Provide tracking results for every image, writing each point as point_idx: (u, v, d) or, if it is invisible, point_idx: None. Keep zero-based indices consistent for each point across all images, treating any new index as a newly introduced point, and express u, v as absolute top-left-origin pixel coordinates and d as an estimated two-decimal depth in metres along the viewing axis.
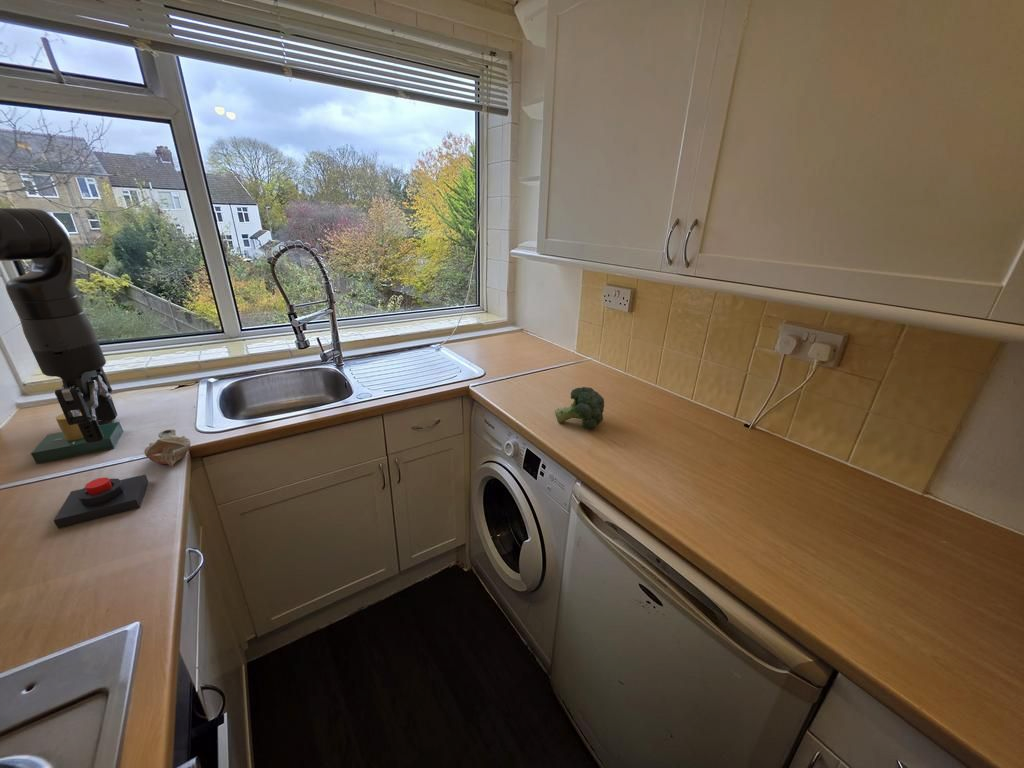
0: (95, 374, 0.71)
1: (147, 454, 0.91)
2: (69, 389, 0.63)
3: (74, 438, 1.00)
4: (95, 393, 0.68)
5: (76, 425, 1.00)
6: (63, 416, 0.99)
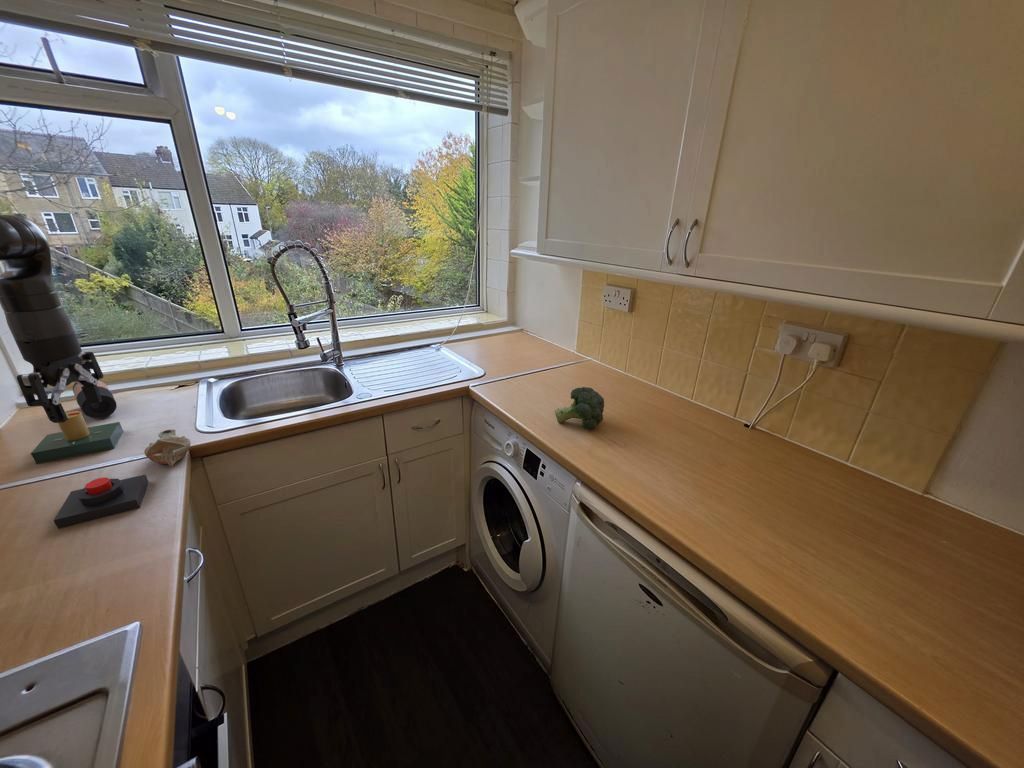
0: (78, 362, 0.80)
1: (147, 454, 0.91)
2: (28, 375, 0.71)
3: (74, 438, 1.00)
4: (63, 380, 0.76)
5: (76, 425, 1.00)
6: None
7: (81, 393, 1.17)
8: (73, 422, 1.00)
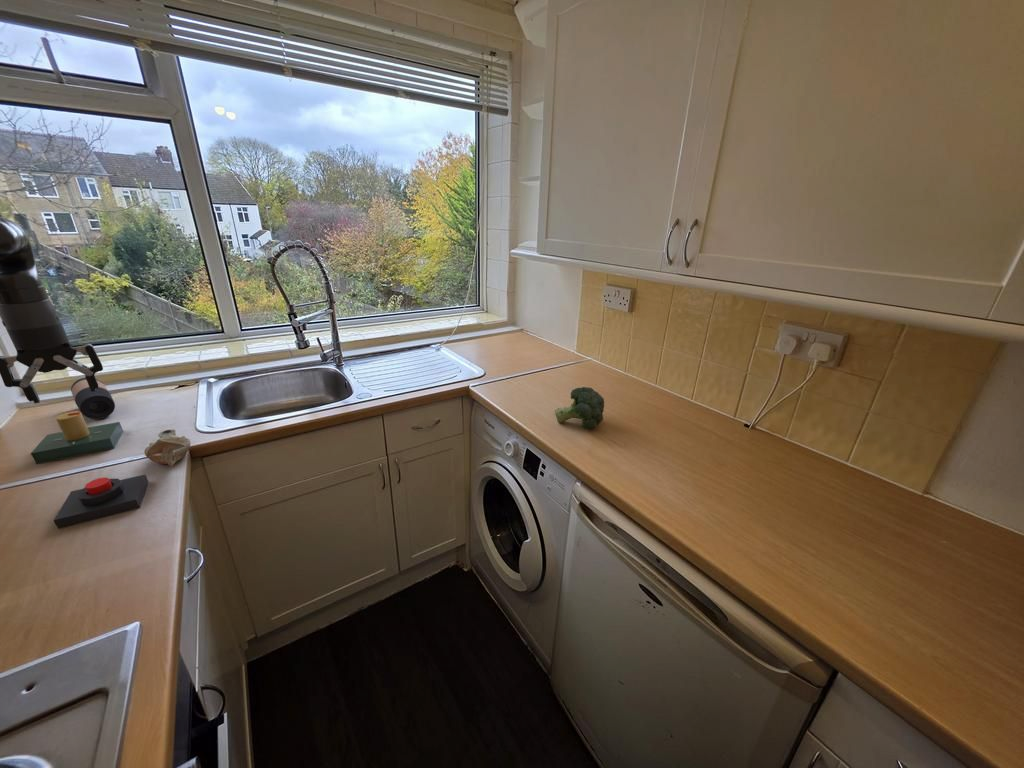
0: (68, 353, 0.85)
1: (147, 454, 0.91)
2: None
3: (74, 438, 1.00)
4: (35, 368, 0.82)
5: (76, 425, 1.00)
6: (63, 416, 0.99)
7: (78, 394, 1.16)
8: (73, 422, 1.00)
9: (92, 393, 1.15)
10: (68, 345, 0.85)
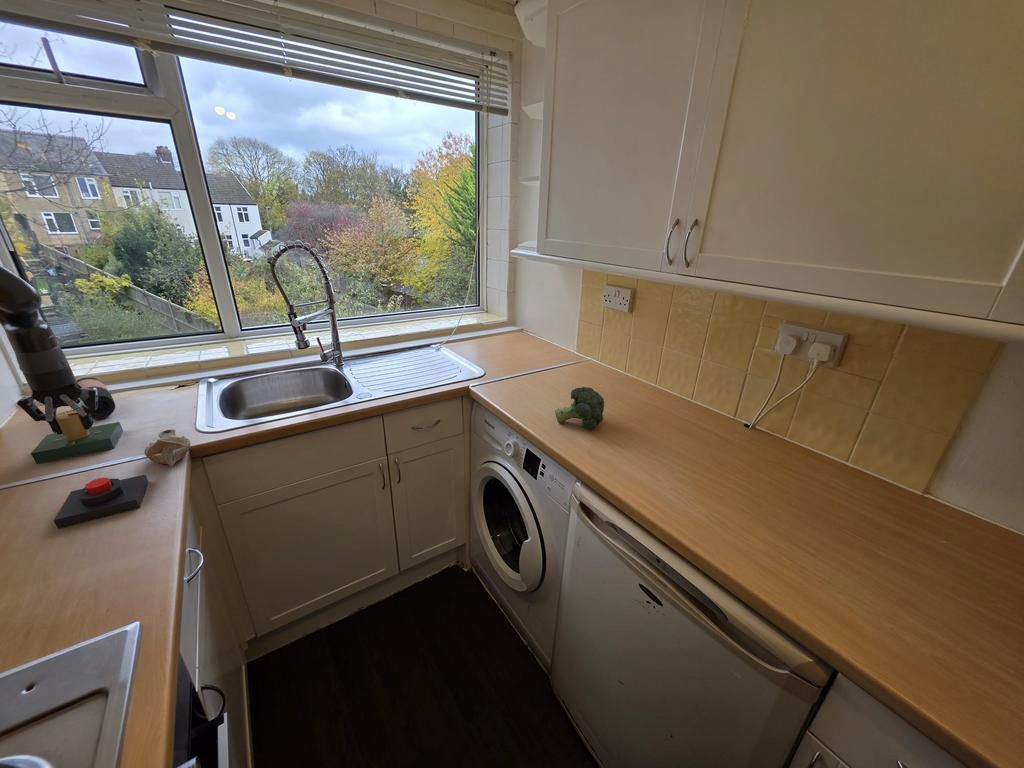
0: (72, 392, 0.98)
1: (147, 454, 0.91)
2: None
3: (74, 438, 1.00)
4: (45, 404, 0.96)
5: (76, 425, 1.00)
6: (63, 416, 0.99)
7: None
8: (73, 422, 1.00)
9: None
10: (73, 385, 0.98)
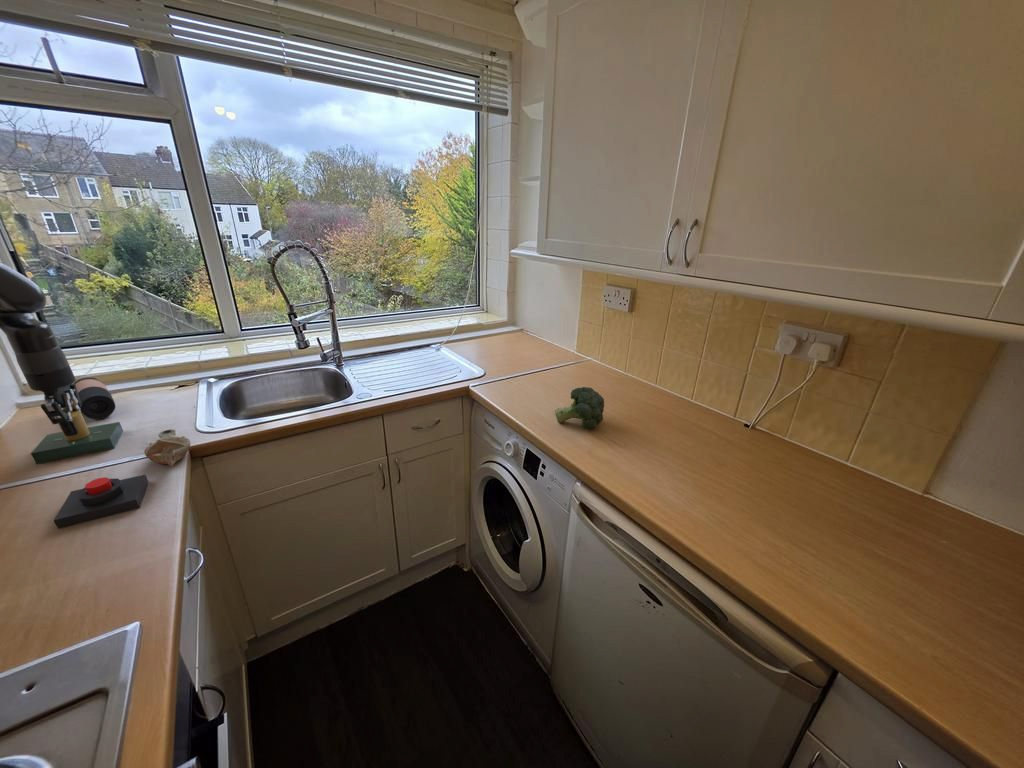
0: (68, 388, 1.01)
1: (147, 454, 0.91)
2: (50, 404, 0.93)
3: None
4: (67, 402, 0.98)
5: None
6: None
7: (79, 394, 1.17)
8: (82, 416, 1.02)
9: (93, 393, 1.16)
10: None
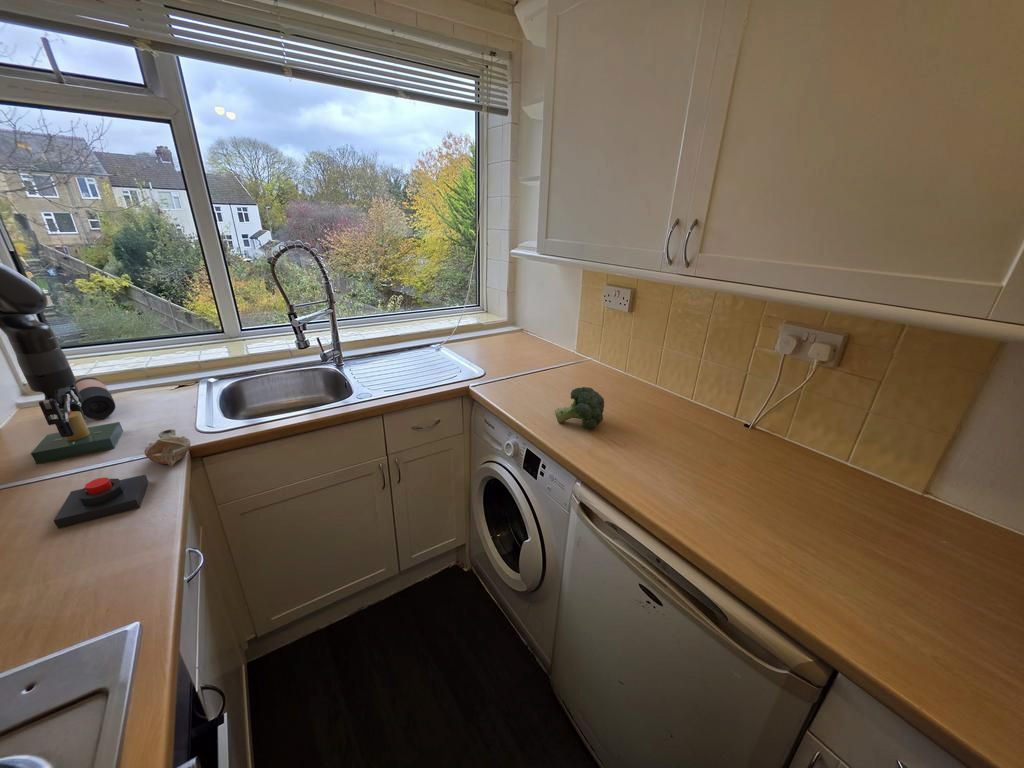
0: (69, 389, 1.01)
1: (147, 454, 0.91)
2: (48, 400, 0.93)
3: (89, 432, 1.03)
4: (68, 403, 0.98)
5: None
6: (69, 416, 1.00)
7: None
8: (82, 416, 1.02)
9: (93, 393, 1.16)
10: None
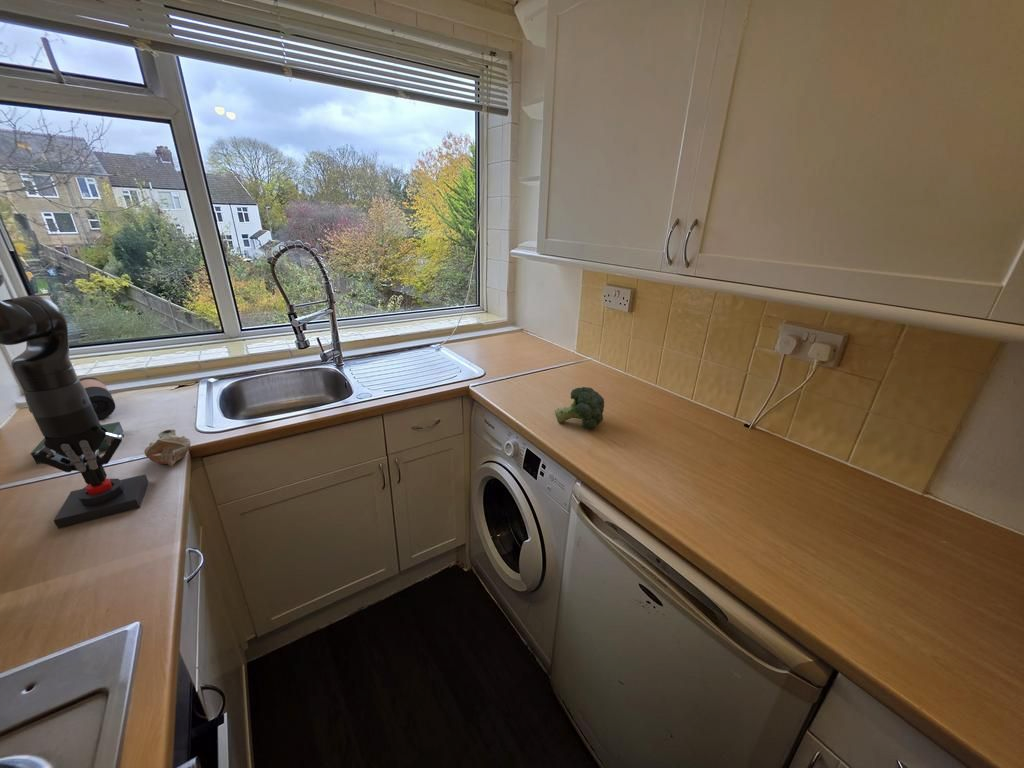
0: (94, 436, 0.78)
1: (147, 454, 0.91)
2: (34, 455, 0.75)
3: None
4: (62, 453, 0.76)
5: None
6: None
7: None
8: None
9: (93, 393, 1.16)
10: (96, 428, 0.78)
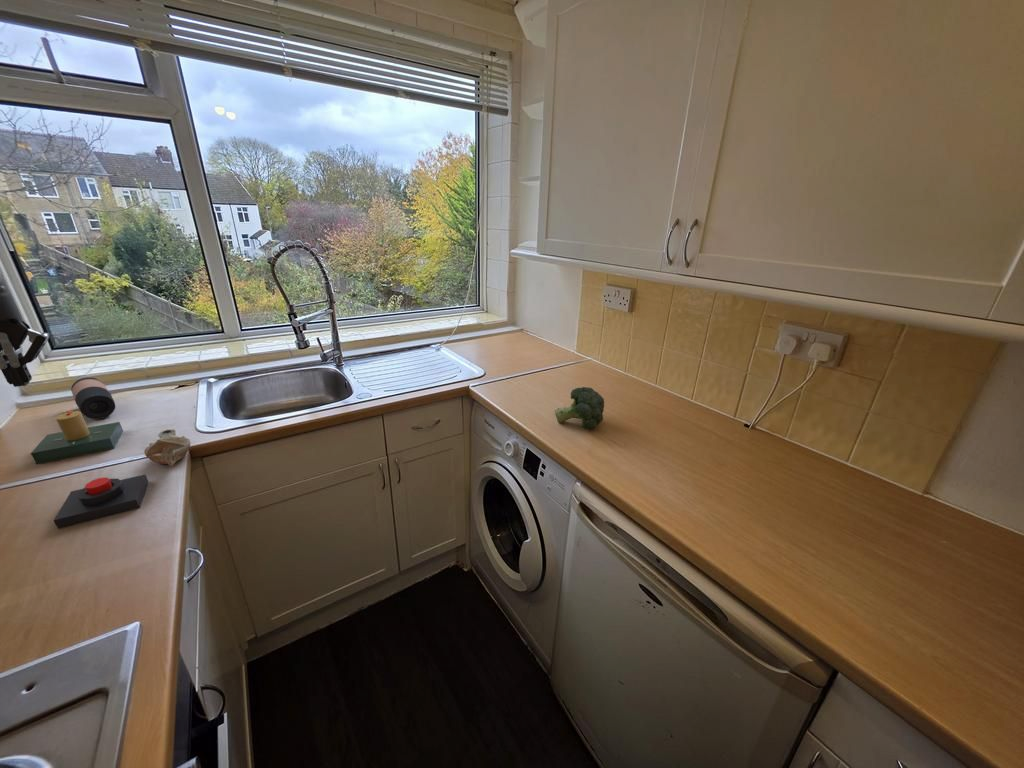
0: (15, 330, 0.74)
1: (147, 454, 0.91)
2: None
3: (89, 432, 1.03)
4: None
5: None
6: (69, 416, 1.00)
7: (79, 394, 1.17)
8: (82, 416, 1.02)
9: (93, 393, 1.16)
10: (16, 322, 0.74)
